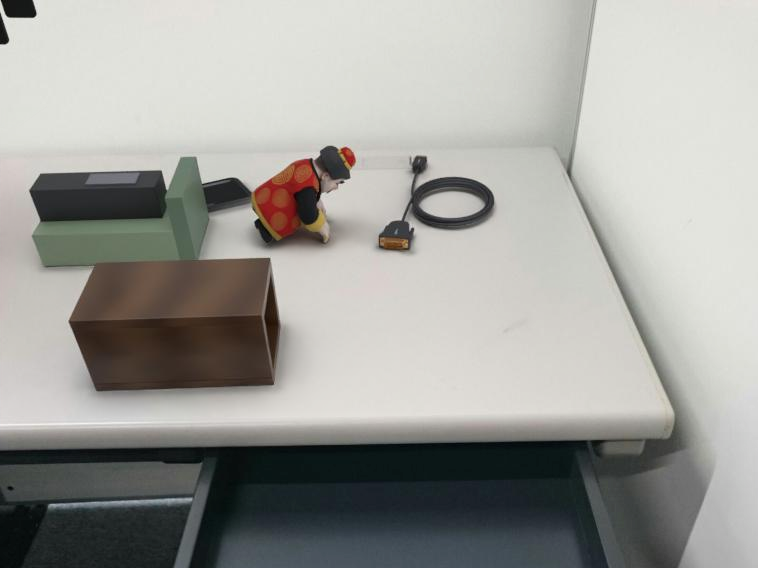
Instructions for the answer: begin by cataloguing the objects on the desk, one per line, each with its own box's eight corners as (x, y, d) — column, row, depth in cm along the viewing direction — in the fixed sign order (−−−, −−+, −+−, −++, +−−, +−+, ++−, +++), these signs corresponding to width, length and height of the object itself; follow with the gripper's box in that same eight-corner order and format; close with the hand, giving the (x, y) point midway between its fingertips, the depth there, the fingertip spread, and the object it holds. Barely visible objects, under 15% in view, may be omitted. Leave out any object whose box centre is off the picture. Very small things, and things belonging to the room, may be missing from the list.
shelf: (96, 390, 74) (67, 321, 68) (119, 330, 81) (95, 262, 75) (273, 384, 74) (261, 314, 68) (280, 325, 81) (270, 257, 75)
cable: (503, 167, 109) (504, 156, 108) (482, 258, 91) (483, 246, 90) (415, 161, 111) (415, 150, 110) (377, 249, 93) (376, 238, 92)
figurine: (290, 278, 96) (387, 215, 92) (244, 222, 88) (347, 151, 84) (283, 238, 101) (373, 177, 97) (239, 182, 94) (335, 114, 90)
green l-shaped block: (43, 266, 90) (17, 201, 84) (68, 222, 98) (46, 160, 92) (196, 262, 91) (181, 197, 85) (209, 218, 99) (196, 156, 93)
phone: (134, 198, 101) (235, 175, 106) (136, 206, 102) (237, 183, 107) (150, 221, 97) (255, 196, 102) (152, 229, 98) (256, 204, 102)
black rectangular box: (40, 221, 90) (28, 189, 87) (51, 204, 93) (39, 171, 90) (162, 218, 90) (154, 185, 87) (169, 200, 93) (161, 168, 90)
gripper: (-76, -214, 68) (-3, 8, 81) (-161, -201, 56) (-60, 55, 69) (6, -212, 68) (66, 8, 81) (-62, -199, 57) (20, 55, 70)
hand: (8, 29), depth 75 cm, fingers open, 9 cm apart
